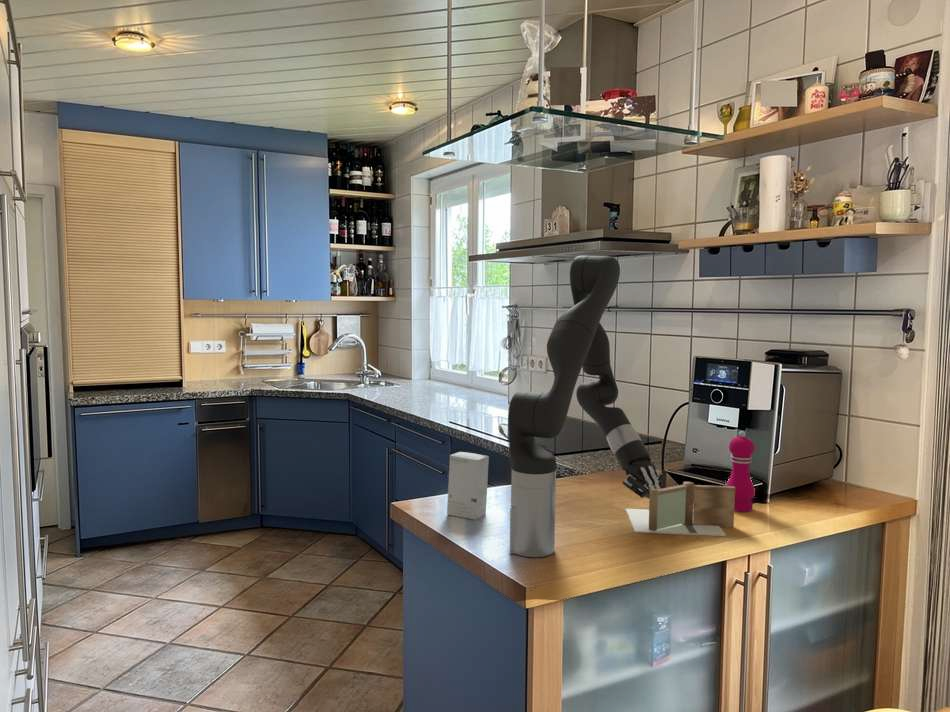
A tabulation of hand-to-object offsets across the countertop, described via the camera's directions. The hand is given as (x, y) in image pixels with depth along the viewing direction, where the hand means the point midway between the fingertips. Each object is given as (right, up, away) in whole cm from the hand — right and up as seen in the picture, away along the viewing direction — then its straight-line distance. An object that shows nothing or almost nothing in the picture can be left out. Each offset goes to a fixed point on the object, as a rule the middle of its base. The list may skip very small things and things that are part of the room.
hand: (663, 510), depth 156 cm
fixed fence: (+11, -4, +3) cm, 12 cm away
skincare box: (-45, -3, +9) cm, 46 cm away
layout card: (+4, -4, +5) cm, 7 cm away
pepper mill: (+24, -3, +16) cm, 29 cm away
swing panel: (+1, -4, -1) cm, 4 cm away
